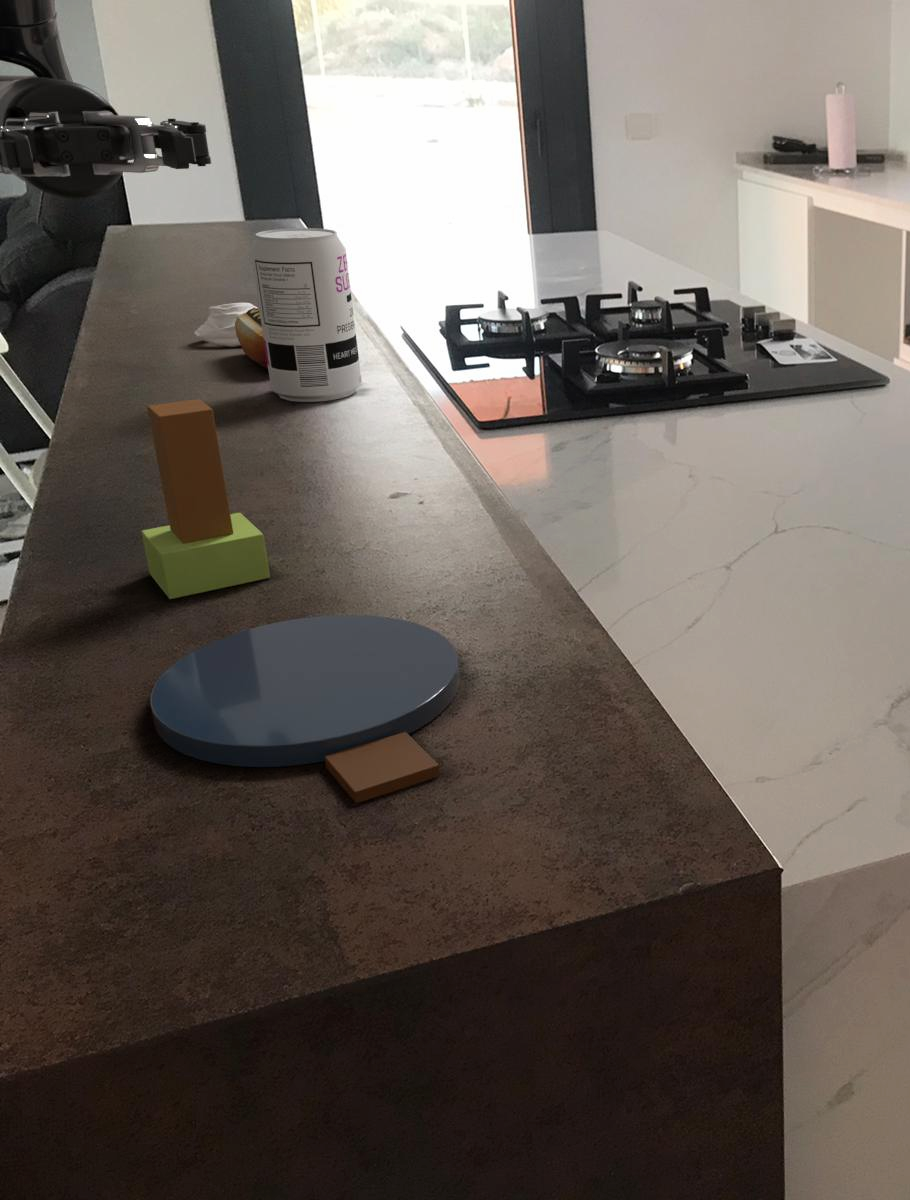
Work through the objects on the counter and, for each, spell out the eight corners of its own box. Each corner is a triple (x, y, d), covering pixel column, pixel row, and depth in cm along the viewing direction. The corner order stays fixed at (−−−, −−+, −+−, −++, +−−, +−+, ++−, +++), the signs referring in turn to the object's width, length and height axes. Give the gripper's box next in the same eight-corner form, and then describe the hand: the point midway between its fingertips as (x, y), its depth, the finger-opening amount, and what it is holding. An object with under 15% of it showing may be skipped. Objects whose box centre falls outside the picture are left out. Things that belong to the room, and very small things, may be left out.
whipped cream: (194, 357, 141) (182, 313, 138) (203, 338, 146) (192, 296, 144) (270, 349, 142) (260, 306, 140) (276, 331, 148) (266, 289, 146)
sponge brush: (169, 600, 78) (135, 424, 73) (149, 574, 81) (115, 405, 77) (270, 578, 81) (243, 409, 77) (247, 554, 85) (220, 391, 80)
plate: (199, 802, 57) (194, 779, 57) (123, 678, 68) (119, 658, 68) (507, 709, 66) (506, 688, 65) (396, 612, 77) (394, 594, 76)
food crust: (356, 807, 58) (354, 791, 57) (326, 770, 60) (323, 755, 60) (440, 779, 60) (439, 764, 60) (407, 745, 63) (405, 731, 62)
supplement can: (260, 390, 124) (235, 231, 118) (343, 379, 129) (323, 225, 123) (290, 408, 118) (266, 241, 112) (376, 395, 123) (357, 234, 117)
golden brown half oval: (258, 379, 128) (250, 329, 126) (232, 353, 138) (225, 307, 136) (309, 374, 131) (302, 325, 129) (281, 349, 141) (274, 303, 139)
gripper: (-81, 77, 83) (-49, 86, 71) (156, 77, 91) (220, 85, 79) (-52, 198, 86) (-17, 225, 74) (174, 188, 94) (239, 211, 82)
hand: (105, 153), depth 77 cm, fingers open, 8 cm apart
